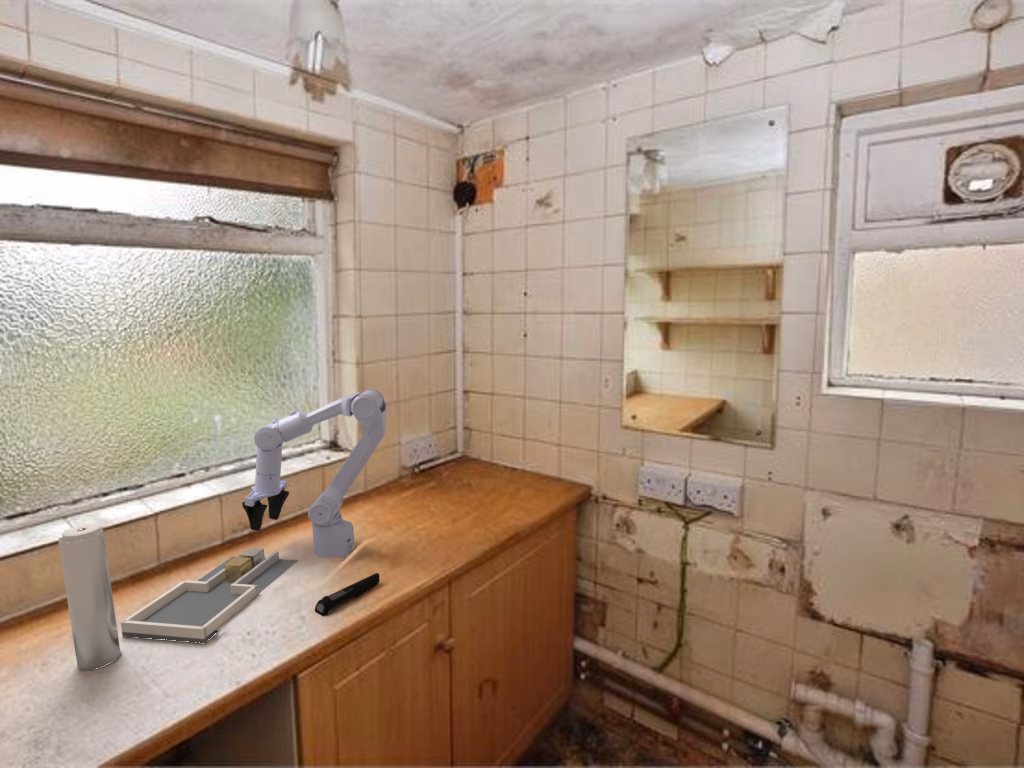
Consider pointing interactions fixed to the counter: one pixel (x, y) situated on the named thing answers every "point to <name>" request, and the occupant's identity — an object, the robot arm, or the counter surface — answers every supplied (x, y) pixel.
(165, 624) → the channel board
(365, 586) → the electric trimmer
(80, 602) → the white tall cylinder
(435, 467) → the counter surface
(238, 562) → the mustard yellow cube
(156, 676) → the counter surface
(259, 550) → the light grey cube
